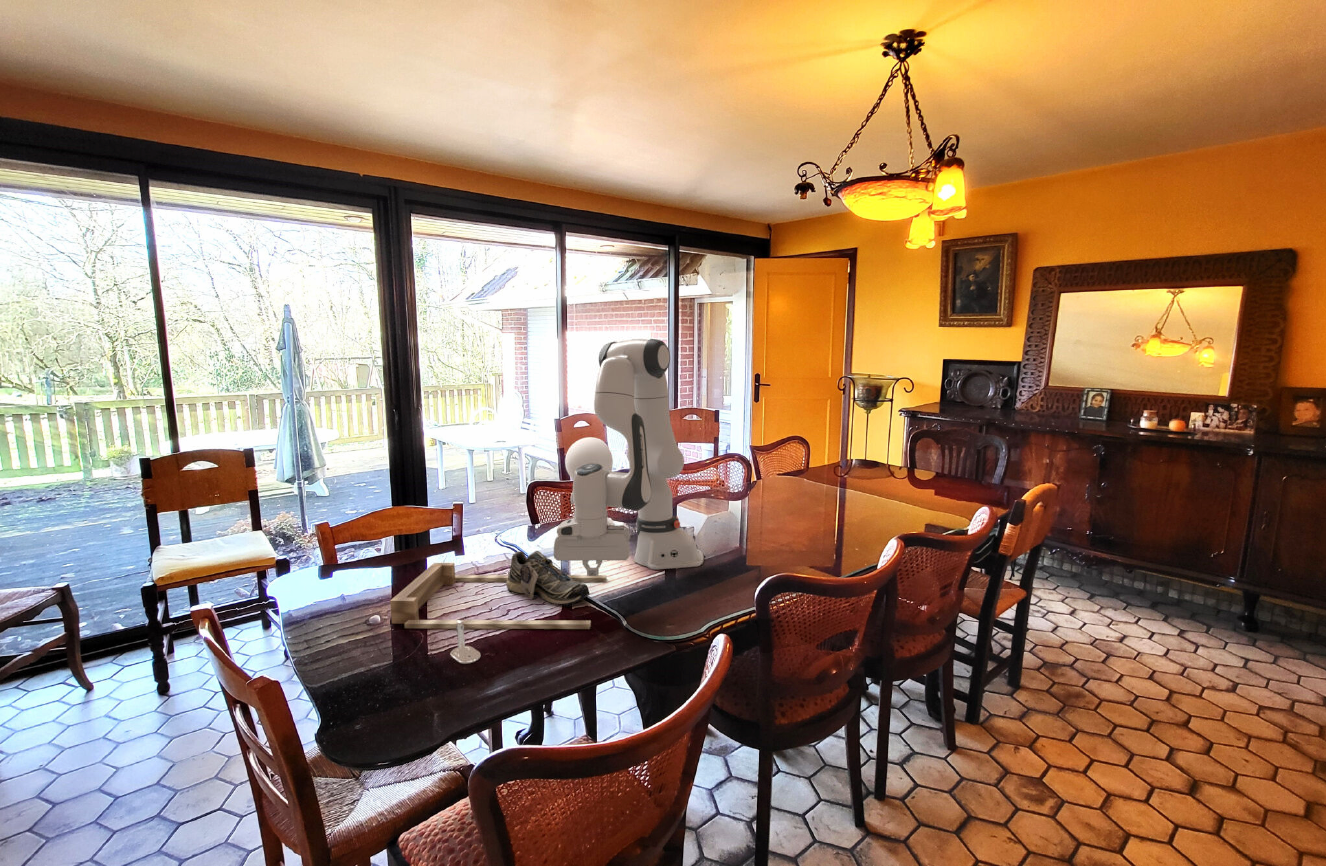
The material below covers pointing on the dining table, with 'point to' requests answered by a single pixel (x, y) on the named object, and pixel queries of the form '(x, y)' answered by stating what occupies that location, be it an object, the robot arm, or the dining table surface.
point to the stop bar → (421, 591)
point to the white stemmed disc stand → (464, 648)
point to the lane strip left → (500, 624)
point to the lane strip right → (505, 577)
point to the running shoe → (543, 580)
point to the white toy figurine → (588, 458)
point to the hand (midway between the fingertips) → (592, 575)
